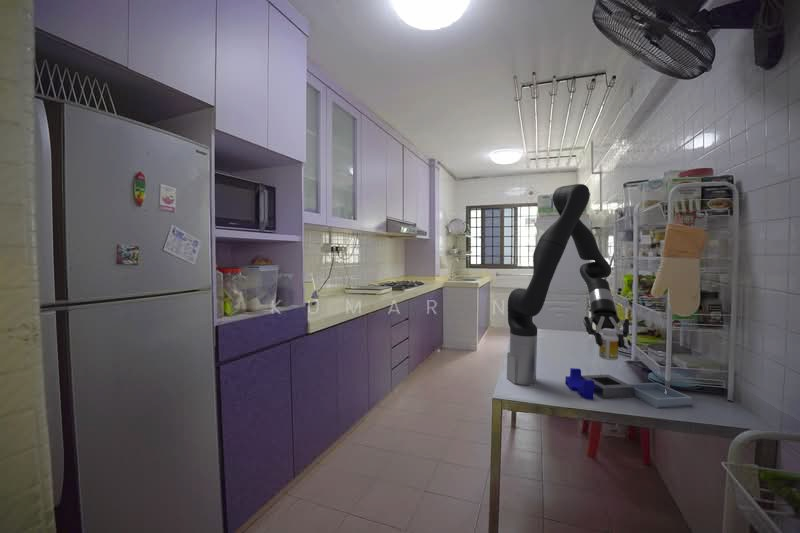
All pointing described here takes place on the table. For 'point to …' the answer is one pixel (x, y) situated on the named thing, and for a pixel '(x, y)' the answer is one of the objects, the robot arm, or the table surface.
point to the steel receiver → (610, 387)
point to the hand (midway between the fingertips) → (610, 345)
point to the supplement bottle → (609, 344)
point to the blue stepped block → (580, 384)
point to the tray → (660, 395)
